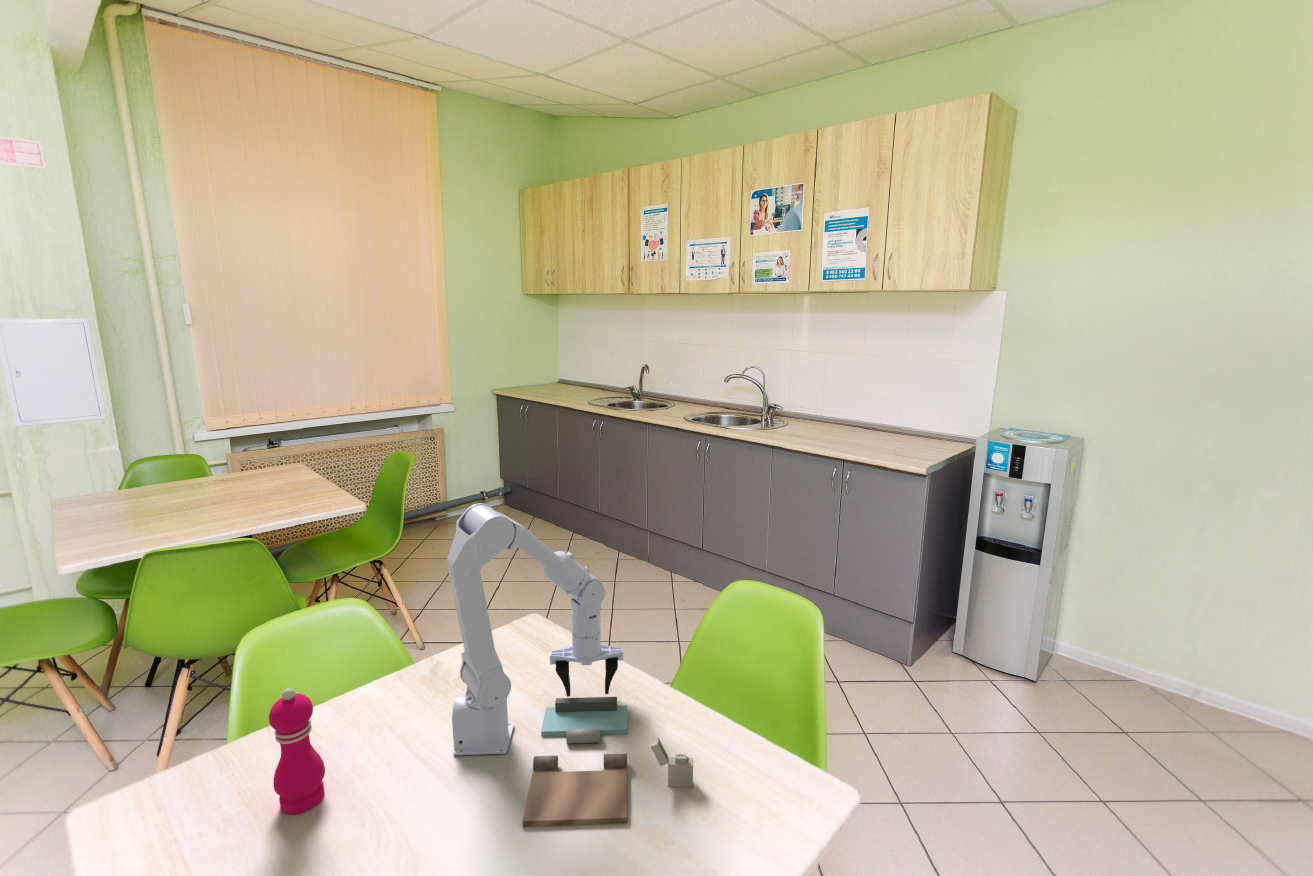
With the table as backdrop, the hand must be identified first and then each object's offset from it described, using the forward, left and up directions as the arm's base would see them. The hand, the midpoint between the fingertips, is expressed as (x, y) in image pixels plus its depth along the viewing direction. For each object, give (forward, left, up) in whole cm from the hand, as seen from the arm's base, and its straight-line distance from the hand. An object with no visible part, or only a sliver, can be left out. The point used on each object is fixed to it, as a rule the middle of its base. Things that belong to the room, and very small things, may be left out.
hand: (587, 692), depth 126 cm
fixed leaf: (0, -25, -2) cm, 25 cm away
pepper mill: (-44, -24, -2) cm, 51 cm away
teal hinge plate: (0, -9, -2) cm, 9 cm away
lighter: (+16, -23, -2) cm, 28 cm away
